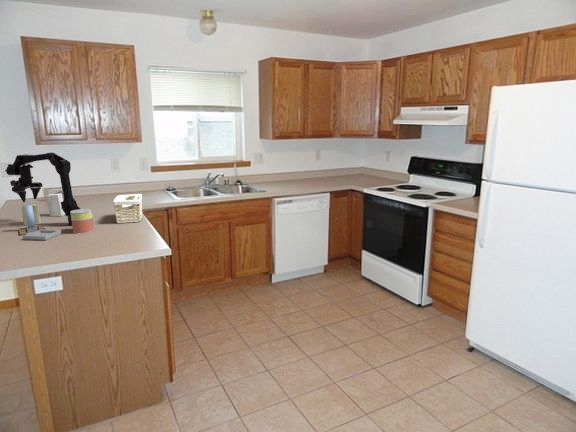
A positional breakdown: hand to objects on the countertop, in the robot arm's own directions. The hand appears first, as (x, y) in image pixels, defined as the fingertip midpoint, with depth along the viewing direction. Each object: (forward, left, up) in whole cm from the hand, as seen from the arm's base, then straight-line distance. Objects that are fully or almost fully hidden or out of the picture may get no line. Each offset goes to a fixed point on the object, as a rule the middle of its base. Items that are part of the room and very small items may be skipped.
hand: (29, 200), depth 246 cm
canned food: (-42, +13, -15) cm, 47 cm away
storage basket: (-55, -17, -15) cm, 60 cm away
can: (+1, 0, -15) cm, 15 cm away
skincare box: (0, -22, -15) cm, 27 cm away
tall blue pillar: (-11, +15, -15) cm, 24 cm away
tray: (-27, +27, -15) cm, 41 cm away
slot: (-12, +16, -15) cm, 25 cm away
